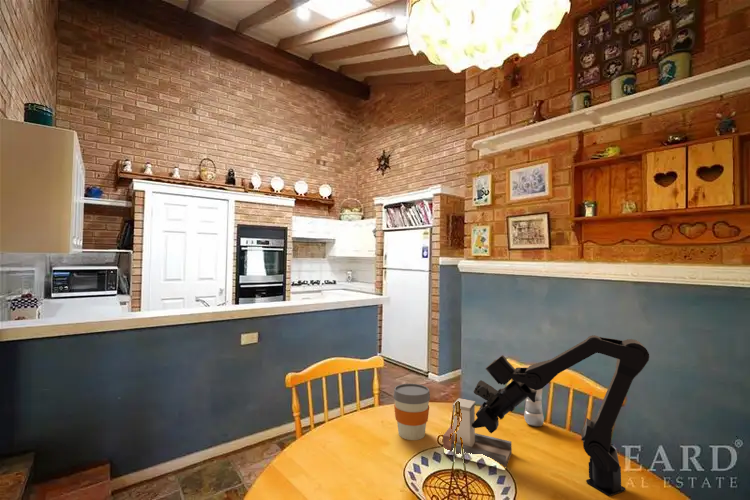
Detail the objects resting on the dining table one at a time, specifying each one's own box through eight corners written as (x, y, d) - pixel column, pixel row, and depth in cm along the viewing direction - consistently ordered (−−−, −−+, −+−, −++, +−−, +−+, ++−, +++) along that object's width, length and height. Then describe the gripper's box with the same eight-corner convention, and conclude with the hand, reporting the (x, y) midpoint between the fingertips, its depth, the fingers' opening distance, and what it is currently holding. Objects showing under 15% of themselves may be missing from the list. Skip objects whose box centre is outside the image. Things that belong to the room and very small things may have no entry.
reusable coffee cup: (430, 444, 115) (430, 396, 116) (391, 441, 117) (391, 394, 118) (430, 427, 127) (430, 384, 128) (395, 424, 129) (395, 382, 130)
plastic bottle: (532, 429, 126) (532, 372, 127) (520, 421, 132) (519, 367, 133) (548, 427, 128) (547, 370, 129) (534, 419, 134) (534, 365, 135)
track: (511, 453, 110) (511, 434, 110) (505, 470, 100) (505, 450, 100) (454, 438, 119) (454, 421, 119) (443, 453, 109) (443, 435, 109)
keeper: (475, 442, 113) (475, 401, 114) (470, 451, 107) (470, 408, 108) (458, 438, 116) (458, 398, 116) (452, 446, 110) (452, 404, 111)
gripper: (496, 367, 117) (463, 395, 122) (483, 382, 101) (445, 414, 105) (522, 396, 112) (486, 423, 117) (513, 417, 96) (472, 448, 101)
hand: (473, 426), depth 110 cm, fingers closed, pressing on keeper
